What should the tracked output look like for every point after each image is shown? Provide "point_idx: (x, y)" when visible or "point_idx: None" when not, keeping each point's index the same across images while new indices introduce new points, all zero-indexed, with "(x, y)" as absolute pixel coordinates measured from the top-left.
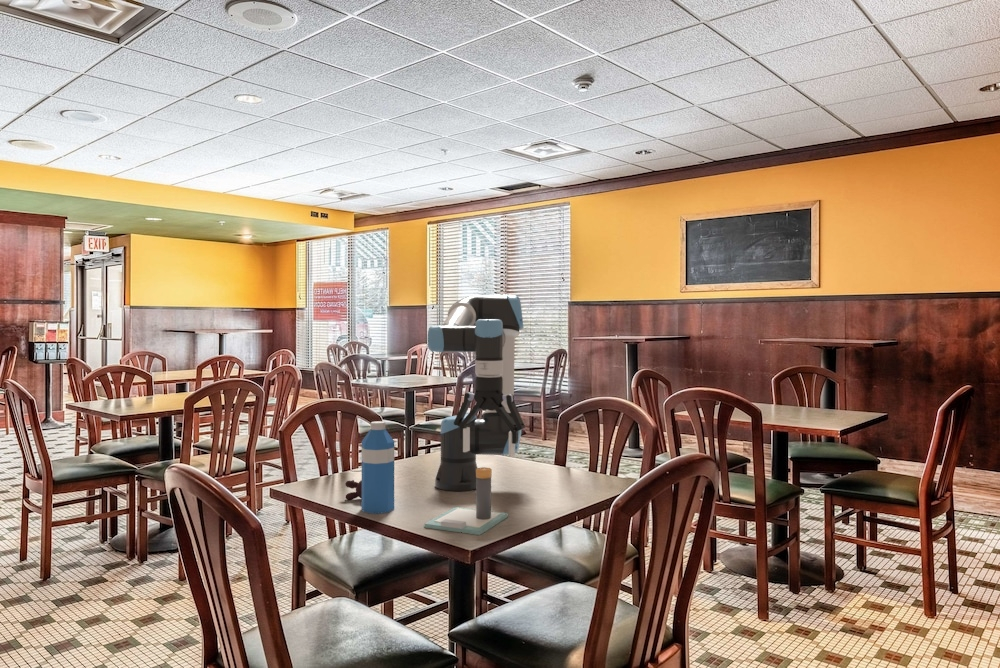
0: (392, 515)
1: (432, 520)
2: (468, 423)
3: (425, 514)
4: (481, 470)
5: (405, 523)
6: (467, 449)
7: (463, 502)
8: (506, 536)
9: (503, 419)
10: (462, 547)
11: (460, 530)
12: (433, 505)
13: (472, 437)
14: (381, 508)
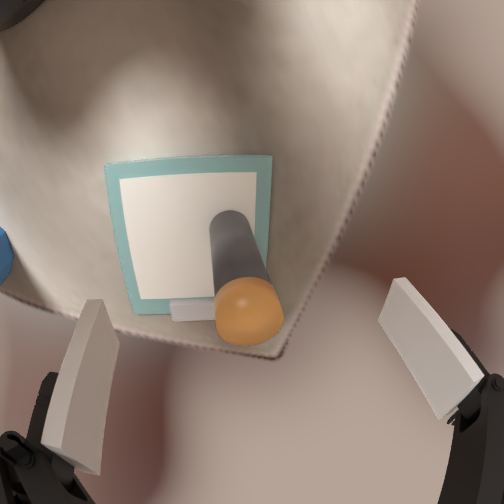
0: (33, 269)
1: (131, 292)
2: (64, 489)
3: (70, 232)
4: (249, 339)
5: None
6: (109, 334)
7: (85, 80)
8: (313, 287)
9: (441, 495)
10: (259, 355)
11: None
12: (38, 154)
13: None
14: (7, 271)
